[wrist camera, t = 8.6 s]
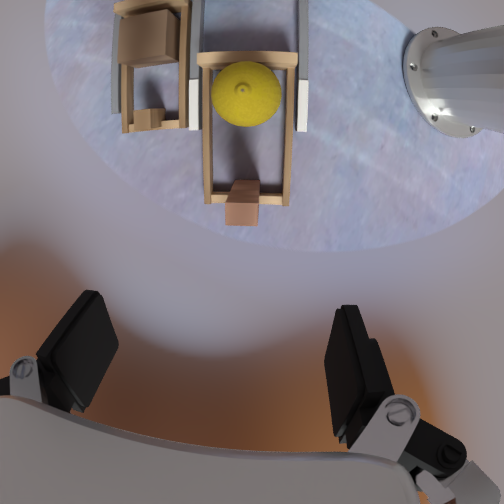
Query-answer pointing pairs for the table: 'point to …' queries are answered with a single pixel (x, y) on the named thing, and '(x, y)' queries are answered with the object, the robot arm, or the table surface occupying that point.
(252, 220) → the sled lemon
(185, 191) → the table surface
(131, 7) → the cube
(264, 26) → the table surface
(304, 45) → the lane rails
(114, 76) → the rail right
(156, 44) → the walnut cube
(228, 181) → the table surface
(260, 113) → the lemon
